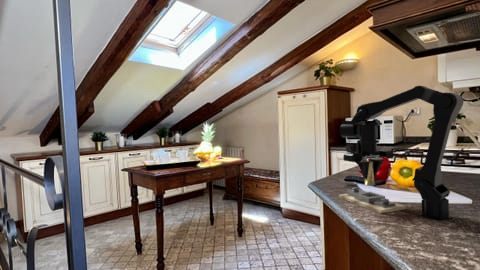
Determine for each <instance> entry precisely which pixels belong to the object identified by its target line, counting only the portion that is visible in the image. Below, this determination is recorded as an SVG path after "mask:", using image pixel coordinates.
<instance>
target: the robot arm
mask: <svg viewBox="0 0 480 270" xmlns="http://www.w3.org/2000/svg"><path fill="white" fill-rule="evenodd" d="M418 100H421V101H424V102H426V103H427V104H431V105H433V109H432V110H433V119H434V123H433V127H432V132H431V137H430V139H429V143H428V147H427V152H426V155H425V160H424V162H423V165H422V166H420V167H417V168H415V169H414V175H413V178H412V180H411V182H412V181H413V186H414V188H415V189H416V190H417V191H418V193H419V195H420V197H421V212H419V214H418V215H419V216H421V217H424V218H427V219H430V220H433V221H436V222H441V221H447V220H451V219H453V216H452V215H450V204H449V201H450V199H448V198H447V197H449V196H450V193H451V190H450V188H448V187H447V186H446V185H444V183H442V182H443V173H442V167H441V166H442V163H443V160H444V155H445V151H446V147H447V145H448V140H449V135H450V133H451V132H450V131H451V129H452V125H453V123H454V121H455V120H456V118H457V117H458V115H459V113H460V111H461V109H462V108H463V106H464V98H463V97H462V96H461V95H460V94H459V93H455V92H442V91H439V90H436V89H432V88H429V87H428V86H424V85H416V86H414V87H412V88H410V89H407V90H405V91H402V92H400V93H397V94H395V95H392V96H390V97H387V98H385V99H382V100H379V101H373V102H368V103H364V104H363V103H362V104H361V105H359V106H358V107H357V109H356V113H355V114H354V115H353V117H352V119H351V120H342V121H341V122H342V123H341V125H340V128H339V131H338V132H339V135H340V136H341V138H359V139H358V140H357V141H356V144H353V143H348V144H346V145H345V150H346V153H343V161H344V162H350V163H351V162H352V163H356V165H357V166H358V167H359V170H360V172H361V174H362V177H363V179H364V180H365V179H367V176H368V169H369V161H373V168H374V179H375V178H376V176H377V174H378V172H379V170H380V168H381V167H382V165H383V163H384V162H386V160H385V159H383V158H386V159H387V160H389V159H394V158H395V157H394V156H395V155H394V152H393V151H392V150H387V149H378V148H377V147H378V146H377V144H379V143H380V140H379V139H377V126H382V125H383V123H382V122H381V121H380V120H379V119H378V117H380V116H381V115H383V114H384V113H385V112H387V111H389V110H392V109H396V108H399V107H401V106H404V105H406V104H409V103H411V102H416V101H418ZM361 123H362V124H361ZM377 149H378V150H377Z"/></svg>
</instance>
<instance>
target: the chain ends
mask: <svg viewBox="0 0 480 270" xmlns="http://www.w3.org/2000/svg"><path fill="white" fill-rule="evenodd" d="M346 194H347V195H349V196H352V197H354V198H355V199H356V200H359V201H362V202H365V203H367V204H374V205H377V206H380V207H383V208H387V207H393V206H395V203H396V202H394V201H391V202H390V199H389V198H386V195H383V194H379V193H377V192H373V191H365V190H363V189H360V188H359V187H358V186H353V187H352V188H351V189H347V190H346ZM393 202H394V203H393Z"/></svg>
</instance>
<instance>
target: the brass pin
mask: <svg viewBox="0 0 480 270" xmlns="http://www.w3.org/2000/svg"><path fill="white" fill-rule="evenodd" d="M368 161H369V160H368ZM374 185H375V178H374V168H373V161H369V169H368V176H367V179H364V186H369V187H371V186H374Z"/></svg>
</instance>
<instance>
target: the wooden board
mask: <svg viewBox="0 0 480 270" xmlns="http://www.w3.org/2000/svg"><path fill="white" fill-rule="evenodd" d="M338 198H340V199H342V200H345V201H348V202H351V203H352V204H356V205H358V206H361V207H363V208H365V209H368V210H370V211H373V212H376V213H379V214H384V213H385V214H386V213H391V212H397V211H401V210H402V211H403V210H407V206H406V205H403V204H400V203H396V202H394V201H390V200H389V201H390V202H393V203H395V206H393V207H387V208H383V207H380V206H377V205H374V204H367V203H365V202H362V201H359V200H356V199H355V198H354V197H352V196H349V195H347V193H342V194H338Z"/></svg>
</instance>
